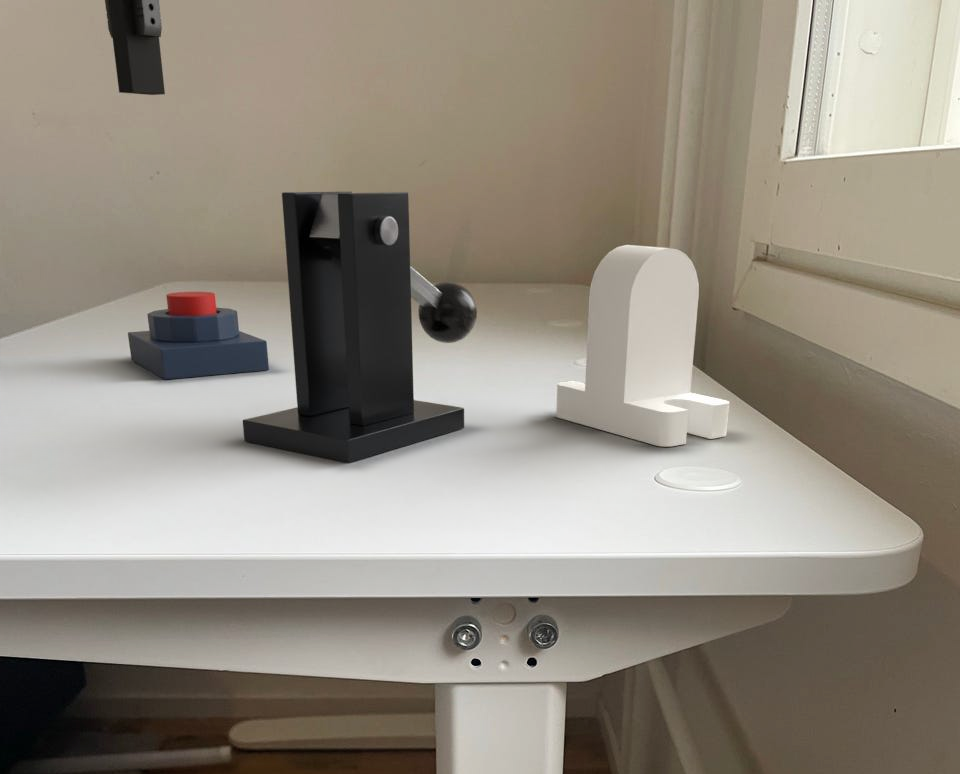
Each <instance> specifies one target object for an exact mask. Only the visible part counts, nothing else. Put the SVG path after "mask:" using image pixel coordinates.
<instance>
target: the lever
mask: <svg viewBox="0 0 960 774" xmlns="http://www.w3.org/2000/svg"><path fill="white" fill-rule="evenodd" d="M309 237H310V238H312V239H313V240H314V241H316V242H317V243H318V244H319V245H321V246H322V247H323V248H325V249H326V250H327V251H328V252H330V253H331V254H332V255H333V256H335V257H336V258H337V259H339V260H340V261H341V250H340V231H339V212H338V194H323V195H322V198H321V201H320V204H319V207H318V210H317V213H316V216H315V219H314V223H313V226H312V229H311V232H310V235H309ZM410 276H411V299H412V300H414V301H415V302H416V303H418V309H417V310H418V314H417V315H418V320H419V324H420V325H421V328H422V329H423V331H424V332H425V334H427V336H429V337H430V338H431V339H433V340H434V341H436V342H439V343H443V344H453V343H458V342H460V341H462V340H463V339H465V338H466V337H467V336H468V335H470V333H471V332H472V330H473V329H474V327H475V325H476V321H477V318H478V317H477V315H478V309H477V304H476V300H475V298H474V297H473V295H472V293H471V292H470V291H469V290H468V289H467V288H466V287H465V286H463V285H462V284H460V283H457V282H453V281H441V282H438V283H436V284H432V283H431V282H430V281H428V279H426V278H425V277H424V276H423V275H422V274H420V273H419V272H418V271H417V270H416V269H414V268H413V267H412V266H411V265H410Z"/></svg>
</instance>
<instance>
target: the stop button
mask: <svg viewBox="0 0 960 774" xmlns="http://www.w3.org/2000/svg"><path fill="white" fill-rule="evenodd" d="M165 298H166V306H167V309H168V314H169V315H177V316H195V315H209V314H216V313H217V310H216V308H217V302H216V293H214V292H212V291H175V292H171V293H167V294H166V296H165Z"/></svg>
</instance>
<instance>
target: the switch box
mask: <svg viewBox="0 0 960 774" xmlns="http://www.w3.org/2000/svg"><path fill="white" fill-rule="evenodd" d="M216 310H217V313H216V314H209V315H195V316H177V315H169V314H168V308H165V309H164V308H163V309H157V310H153V311H150V312H148V313H147V314H146V315H147V323H148V329H149V330H141V331H140V330H139V331H138V330H137V331H128V332H127V337H128V344H129V352H130V353H129V354H130V360H131V361H133V362H134V363H136V364H138V365H139V366H141V367H143V368H144V369H146V370H148V371H150V372H151V373H153V374H155V375H156V376H158V377H159V378H161V379H163V380H165V381H166V380H177V379H188V378H198V377H209V376H210V377H211V376H220V375H230V374H242V373H253V372H254V373H255V372H263V371H269V370H270V366H269V354H268V342H267V340H265V339H263V338H260V337H257V336H254V335H251V334H249V333H246V332H243V331H241V330H240V328H239V318H238V311H237V310H235V309H232V308H227V307H216Z"/></svg>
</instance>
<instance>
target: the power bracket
mask: <svg viewBox="0 0 960 774" xmlns="http://www.w3.org/2000/svg"><path fill="white" fill-rule="evenodd" d="M323 194H338V212H339V231H340V250H341V261H340V260H339V259H337V258H336V257H335V256H333V255H332V254H331V253H330V252H328V251H327V250H326V249H325V248H323V247H322V246H321V245H319V244H318V243H317V242H316V241H314V240H313V239H312V238H310V237H309V235H310V232H311V229H312V226H313V223H314V219H315V216H316V213H317V210H318V207H319V204H320V201H321V198H322V195H323ZM281 201H282V203H281V204H282V215H283V229H284V230H283V231H284V243H285V256H286V271H287V284H288V296H289V297H288V299H289V311H290V323H291V325H290V326H291V337H292V338H291V340H292V353H293V365H294V366H293V367H294V379H295V392H296V393H295V394H296V404H297V407H292V408H289V409H285V410H279V411H276V412H272V413H266V414H262V415H259V416H254V417H249V418H246V419H242V429H243V440H244V442H248V443H252V444H258V445H261V446H267V447H272V448H277V449H281V450H287V451H291V452H296V453H299V454H305V455H311V456H315V457H320V458H324V459H329V460H330V459H331V460H334V461H338V462H339V461H340V462H344V463H352V462H356V461H359V460H362V459H366V458H369V457H372V456H376V455H378V454H382V453H385V452H388V451H392V450H396V449H398V448H401V447H402V448H403V447H405V446H408V445H412V444H415V443H418V442H421V441H426V440H428V439H431V438H435V437H438V436H442V435H445V434H448V433H451V432H455V431H458V430H461V429H464V428H465V408H464V407H460V406H455V405H448V404H441V403H434V402H429V401H422V400H416V399H415V398H414V397H415V396H414V395H415V394H414V363H413V362H414V360H413V359H414V356H413V355H414V354H413V324H412V323H413V322H412V321H413V319H412V298H411V276H410V266H411V246H410V245H411V242H410V237H411V236H410V203H409V192H407V191H403V192H402V191H388V192H387V191H384V192H383V191H382V192H381V191H380V192H352V191H341V190H339V191H289V192H288V191H287V192H286V191H285V192H281Z"/></svg>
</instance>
